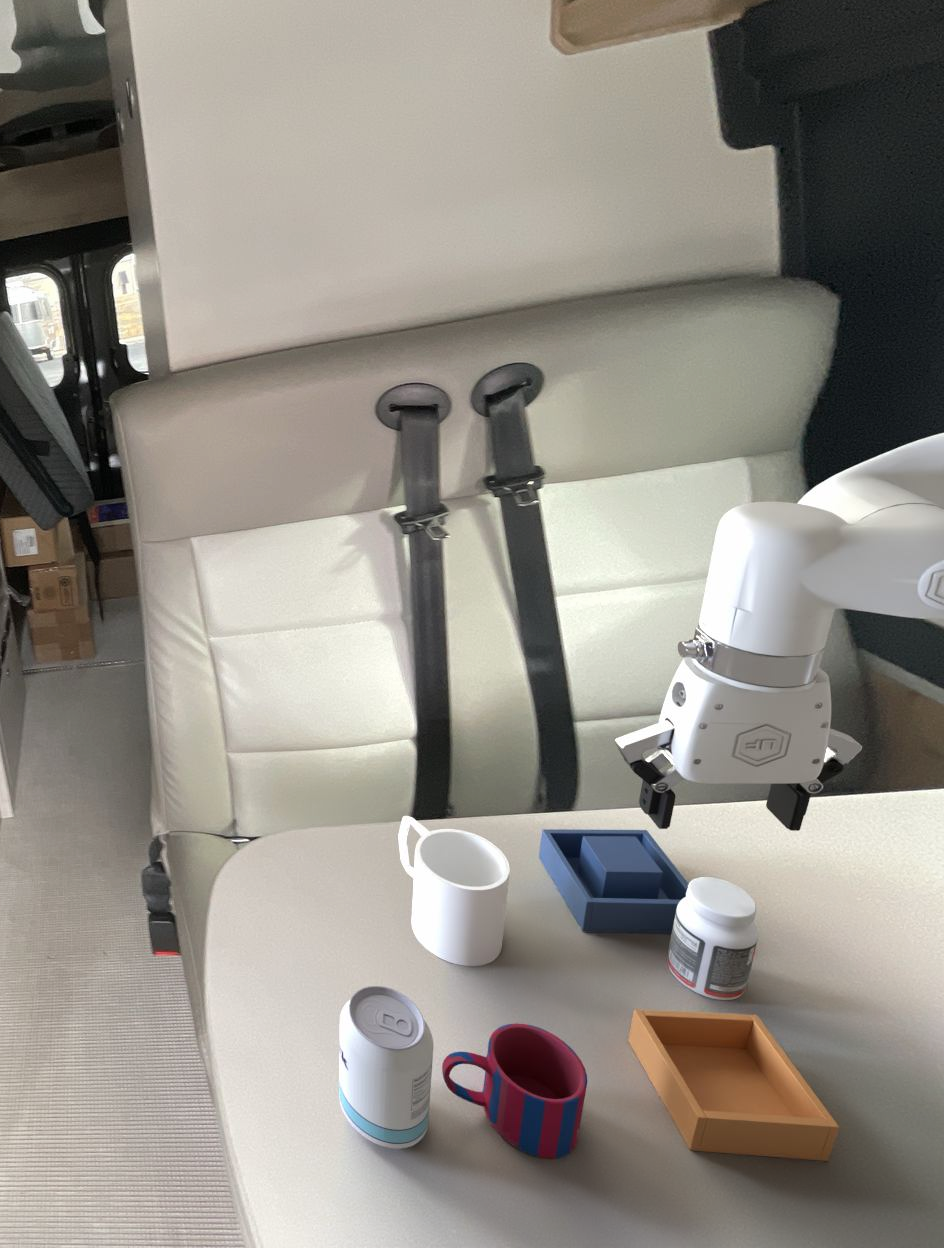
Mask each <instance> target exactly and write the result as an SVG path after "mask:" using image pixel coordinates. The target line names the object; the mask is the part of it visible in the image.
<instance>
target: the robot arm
mask: <svg viewBox="0 0 944 1248" xmlns="http://www.w3.org/2000/svg"><path fill="white" fill-rule="evenodd" d="M709 562H710V563H709V567H708V574H707V579H706V583H705V590H704V594H703V598H702V604H701V610H700V615H699V620H698V623H697V627H696V628H695V630H694V635H693V639H689V640H688V641H685V640H683V641H679V642H678V643H677V652H678V654H679V656H680V657H681V658H682V661H681V662H680V664H679V666H678V668H677V670H676V672H675V674H674V676H673V677H672V680H671V683H670V685H669V687H668V690H667V693H666V695H665V699H664V702H663V705H662V708H661V711H660V715H659V719H658V723H654V724H651V725H649V726H646V727H642V728H640V729H638V730H635V731H632V732H630V733H629V732H628V733H627V734H624V735H621V736H619V737H616V739H615V740H614V744H615V746H616V747H617V749H618V751H619V753H620V755H621V756H622V758H623V760H624V762H625V763H626V764H627V766H628V767H629V768H630V769H631V770H632V772H633V773H634V774H635V775H636V776H638V777H639V778H640V779H641V780H642V783H641V788H640V793H639V799H638V803H639V807H640V809H641V811H643V813H644V814H645V815H648V817H649V818H650V819H651V821H652V822H653V823H654V824H655V826H656V828H658V829H659V830H668V828H670V826H671V822H672V817H673V812H674V807H675V802H676V798H677V797H676V793H675V792H674V791H673V790H672V788H673V787H675V786H676V785H678V784H679V783H681V782H682V781H683V780H687V781H690V782H693V783H697V784H698V783H699V784H732V785H733V784H735V785H737V784H738V785H739V784H743V785H744V784H747V785H748V784H749V785H750V784H752V785H753V784H755V785H757V784H759V785H760V784H761V785H762V784H763V785H764V784H765V785H768V784H770V786H769V791H768V795H767V799H766V803H765V807H766V809H767V810H768V811H769V812H770V813H771V814H772V815H773V817H775V818H776V819H777V820H778V821H779V822H780V823H781V824H782V826H784V827H785V828H786V829H787V830H789V831H792V832H793V831H795V832H797V831H798V832H799V831H800V830H801V828H802V824H803V821H804V818H805V815H806V814H807V811H808V806H809V803H810V800H811V797H812V794H818V793H820V792H822V790H823V789H824V784H823V783H825V782H827V781H829V780H830V779H832V778H834V777H837V776H839V775H840V774H841V773H842V772H843V771H844V769H845V766H844V765H845V764H849V762H850V761H851V760H853V759H854V758H855V757H856V756H857V755H858V754H859V753H860V752H861V751H862V750H863V746H862V744H860V743H859V742H858V741H856V739H854V738H853V737H852V736H851V735H849V734H847V733H844V732H842V731H839V730H836V729H834V728H831V722H832V721H831V720H832V695H831V694H832V693H831V684H830V683H831V682H830V677H829V675H828V674H827V672H826V671H824V670H823V669H822V668H820V666H821V664H822V663H821V662H822V659H823V655H824V652H825V647H826V643H827V640H828V635H829V633H830V628H831V625H832V620H833V617H834V613H835V610H839V609H842V610H850V611H851V610H852V611H857V612H858V611H860V612H868V613H873V614H881V615H887V616H895V617H901V618H911V619H921V620H922V619H923V620H944V432H940V433H937V434H933V435H930V436H927V437H924V438H920V439H918V440H914V441H912V442H908V443H905V444H904V445H901V446H898V447H897V448H893V449H891V450H889V451H886V452H884V453H881V454H879V455H877V456H874V457H871V458H869V459H867V460H864V461H862V462H860V463H858V464H855V465H853V466H851V467H849V468H846V469H844V470H842V471H840V472H838V473H835V474H834V475H832V476H830V477H828V478H827V479H825V480H824V481H821V482H820V483H818V484H816V485H815V486H814V487H812V488H811V489H810V490H809V491H807V492H806V493H805V494H804V495H803V496H802V497H801V498H800V499H799V500H798V502H797V503H796V502H788V501H755V502H747V503H743V504H740V505H737V506H734V507H731V508H730V509H729V510H728V511H727V512H725V513H724V514H723V515H722V517H721V518H720V520H719V521H718V525H717V528H716V532H715V536H714V542H713V547H712V552H711V559H710V561H709ZM655 748H657V750H656V751H654V752H653V753H652V754H650V755H649V756H648V757H646V758H644V757H643V754H644V753H645V752H646V751H649V750H651V749H655ZM668 764H671V765H672V766H670V767H669V768H668V769H666V770H664V771H663V772H661V769H662V768H664V767H666V765H668Z"/></svg>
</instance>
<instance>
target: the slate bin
mask: <svg viewBox="0 0 944 1248" xmlns="http://www.w3.org/2000/svg"><path fill="white" fill-rule="evenodd" d="M583 836H628V837H637V839H638V840H639V841H640V843H641V844H642V845H643V847H644V848H645V849H646V851H647V852H648V853H649V855H650V856H651V857H652V859H653V860H654V861H655V863H656V864H657V865H658V867H659V868H660V869H661V871H662V872H663V874H662V879H661V884H660V889H659V894H658V899H624V898H594V897H593V895H592V894H591V892H590V891H589V889H588V887H587V886H586V884H585V883H584V881H583V879H582V878H581V876H580V875H579V873H578V866H579V859H580V852H581V845H582V838H583ZM539 844H540V846H539V853H538V858H539V860H540V862H541V863H542V865H543V867H544V868H545V870H546V872H547V873H548V875H549V877H550V879H551V880H552V882H553V884H554V886H555V887H556V889H557V890H558V892H559V894H560V895H561V897H562V899H563V900H565V901H564V902H565V904H566V906H567V908H568V909H569V911H570V912H571V914H572V916H573V918H574V919H575V921H576V922H577V925H578V926H579V928H580V929H581V931H582V932H590V933H591V932H596V933H626V934H627V933H628V934H629V933H630V934H659V935H660V934H664V935H665V934H667V935H672V929H673V924H674V919H675V914H676V909H677V906H678V903H679V902H680V901H681V900H682V899H683V898H685V897H686V892H687V889H688V885H689V882H688V881H687V880H686V879H685V878H684V876H683V875H682V874H681V872H680V871H679V870H678V868H677V867H676V866H675V864H674V863H673V862H672V861H671V860H670V858H669V857H668V855H667V854H666V853H665V851H664V850H663V849H662V848H661V846H660V845H659V844H658V843H657V841H656V840H655V839H654V837H653V836H652V834H650V832H649V831H648V830H647V829H567V828H566V829H565V828H564V829H563V828H561V829H560V828H559V829H557V828H556V829H555V828H553V829H546V828H542V830H541V837H540V843H539Z"/></svg>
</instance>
